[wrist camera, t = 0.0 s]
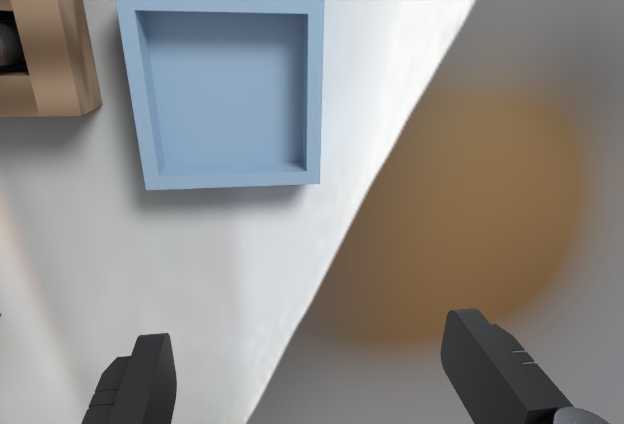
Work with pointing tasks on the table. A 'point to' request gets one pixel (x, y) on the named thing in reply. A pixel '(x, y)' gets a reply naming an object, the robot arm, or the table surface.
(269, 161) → the tray
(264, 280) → the table surface
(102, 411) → the robot arm
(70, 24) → the pin block
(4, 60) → the peg
